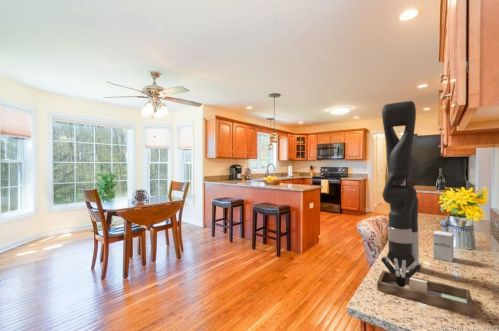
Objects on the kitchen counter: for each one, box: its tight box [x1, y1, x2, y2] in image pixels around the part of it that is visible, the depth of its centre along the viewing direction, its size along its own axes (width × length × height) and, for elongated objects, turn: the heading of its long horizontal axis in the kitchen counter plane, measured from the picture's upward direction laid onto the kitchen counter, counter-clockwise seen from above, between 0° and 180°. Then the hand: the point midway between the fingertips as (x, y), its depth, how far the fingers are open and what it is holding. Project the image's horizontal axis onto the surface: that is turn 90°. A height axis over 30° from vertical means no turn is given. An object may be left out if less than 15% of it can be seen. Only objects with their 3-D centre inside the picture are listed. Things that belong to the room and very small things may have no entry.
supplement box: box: [432, 230, 454, 263], centre depth 119 cm, size 7×7×13 cm
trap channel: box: [376, 270, 475, 317], centre depth 85 cm, size 26×12×4 cm, turn 52°
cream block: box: [409, 277, 427, 293], centre depth 85 cm, size 5×5×4 cm
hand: (401, 286), depth 88 cm, fingers closed
